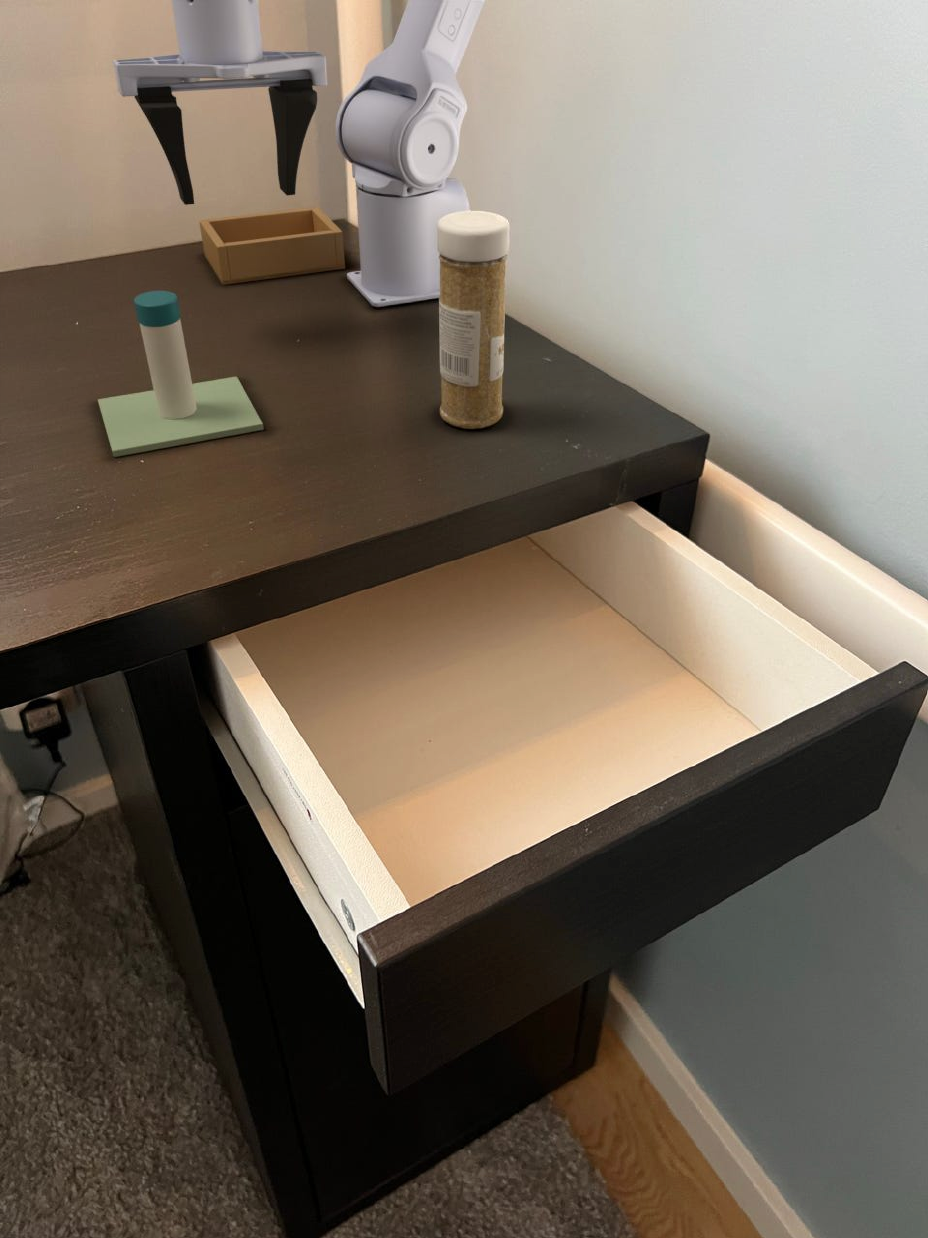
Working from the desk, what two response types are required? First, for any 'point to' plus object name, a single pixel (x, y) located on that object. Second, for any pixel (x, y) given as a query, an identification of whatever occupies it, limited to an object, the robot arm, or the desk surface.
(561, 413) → the desk surface
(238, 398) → the mat
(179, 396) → the white bottle teal cap
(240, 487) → the desk surface
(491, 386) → the spice jar
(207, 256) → the box
